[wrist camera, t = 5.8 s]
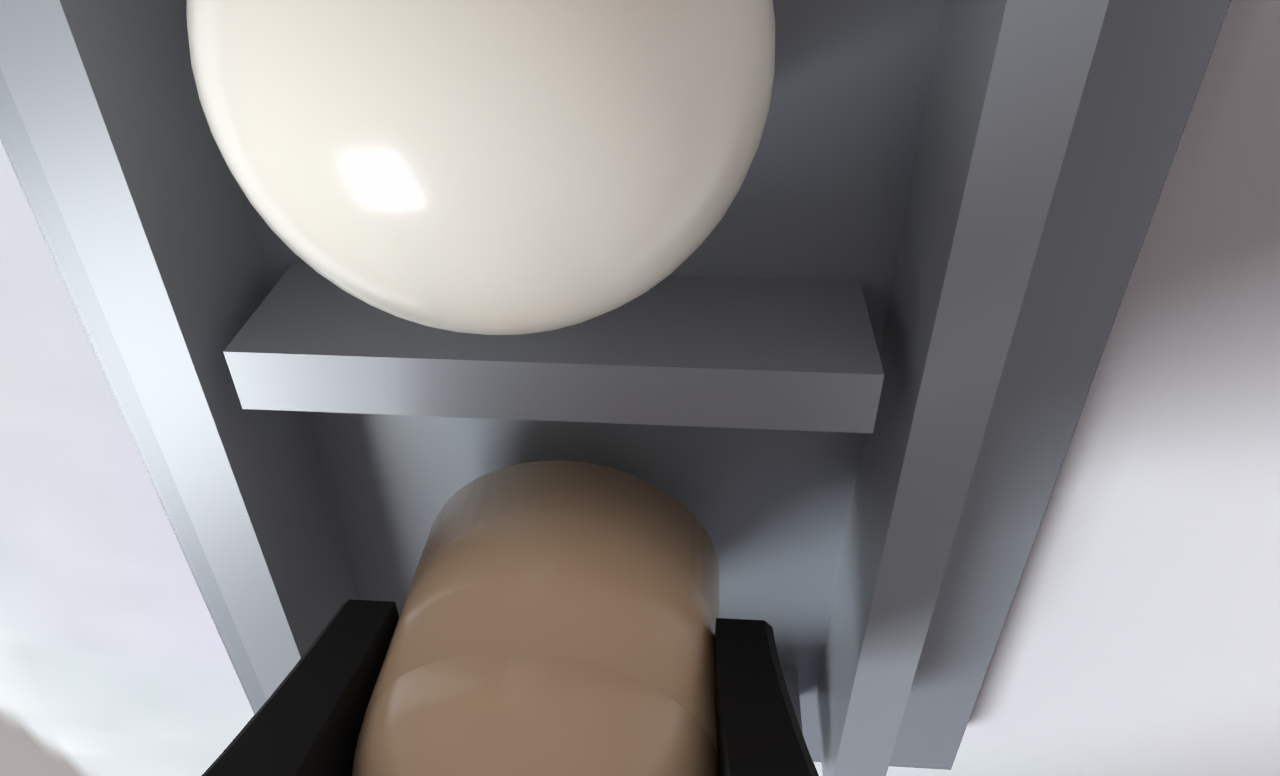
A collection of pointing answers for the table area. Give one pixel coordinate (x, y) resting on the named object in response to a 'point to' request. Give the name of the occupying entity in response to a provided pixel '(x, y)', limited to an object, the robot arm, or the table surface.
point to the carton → (653, 338)
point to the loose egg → (552, 635)
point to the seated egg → (487, 143)
